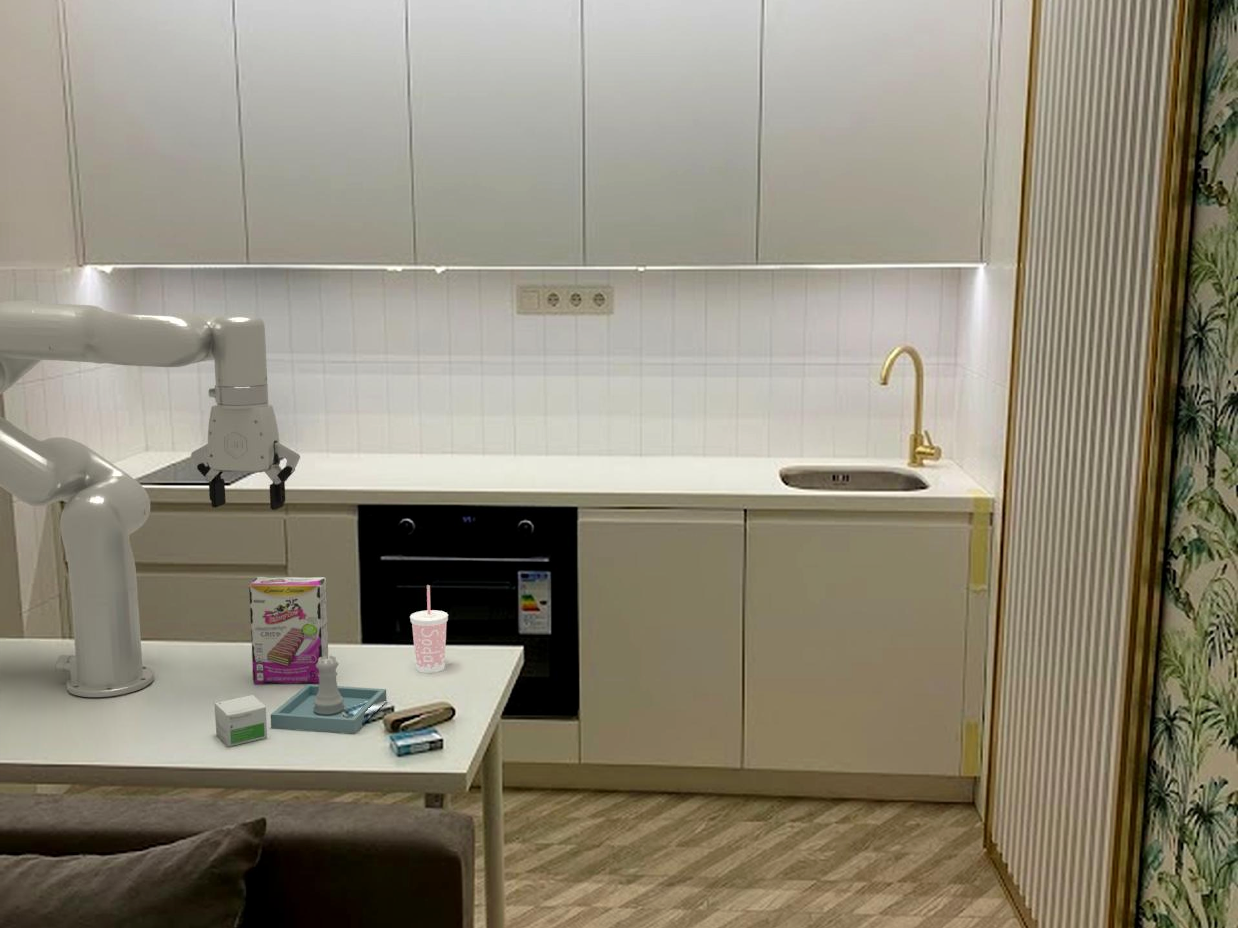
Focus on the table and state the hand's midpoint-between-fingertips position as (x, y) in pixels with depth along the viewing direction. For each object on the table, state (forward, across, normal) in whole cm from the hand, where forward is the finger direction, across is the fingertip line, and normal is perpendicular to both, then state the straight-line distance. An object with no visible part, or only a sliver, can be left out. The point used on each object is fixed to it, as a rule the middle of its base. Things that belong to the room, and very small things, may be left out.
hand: (247, 506), depth 185 cm
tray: (+28, +17, -11) cm, 35 cm away
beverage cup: (+28, +25, +11) cm, 39 cm away
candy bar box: (+28, +5, +2) cm, 29 cm away
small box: (+29, +8, -21) cm, 36 cm away
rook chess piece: (+28, +17, -11) cm, 34 cm away
